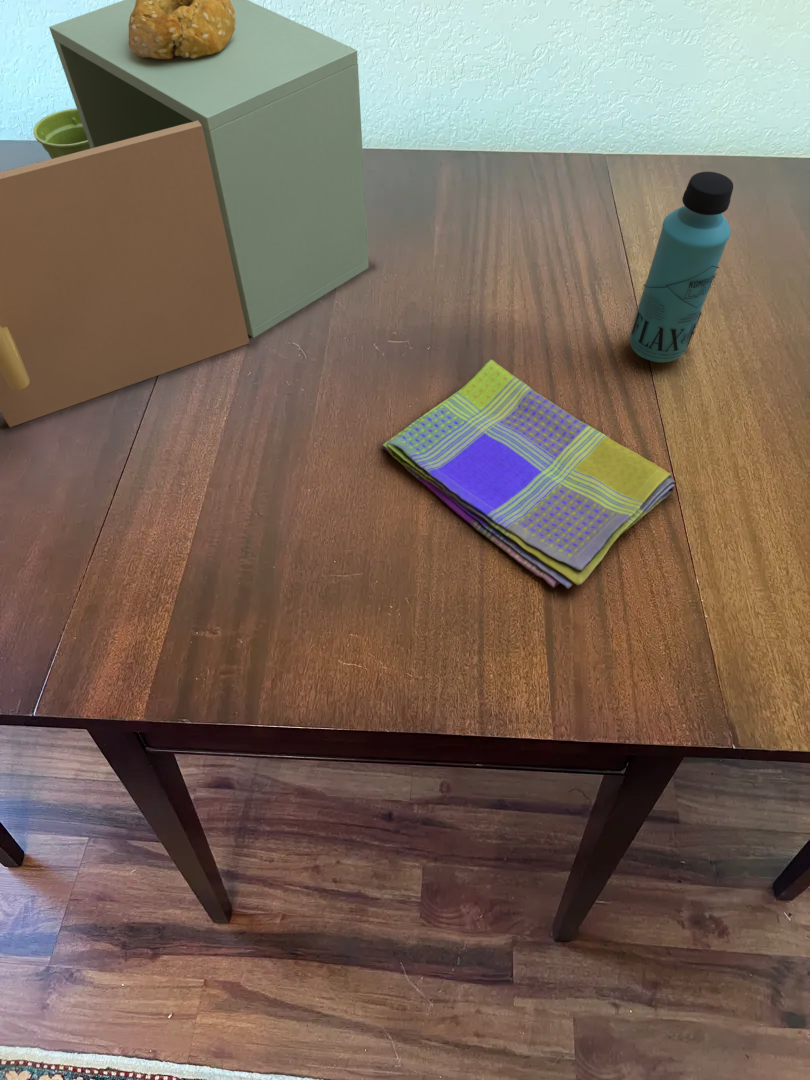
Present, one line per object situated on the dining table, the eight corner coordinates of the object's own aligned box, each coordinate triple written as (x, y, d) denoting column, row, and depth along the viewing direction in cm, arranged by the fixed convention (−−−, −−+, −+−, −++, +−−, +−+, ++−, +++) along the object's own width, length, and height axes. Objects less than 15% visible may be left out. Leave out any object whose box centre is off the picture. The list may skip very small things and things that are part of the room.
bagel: (107, 46, 76) (91, -11, 72) (197, 10, 81) (186, -45, 77) (169, 78, 72) (155, 20, 68) (260, 39, 77) (252, -17, 73)
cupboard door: (274, 381, 84) (231, 162, 64) (25, 472, 76) (-110, 258, 57) (246, 338, 88) (197, 120, 68) (7, 421, 80) (-124, 204, 61)
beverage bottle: (612, 354, 86) (659, 181, 69) (647, 326, 88) (700, 152, 72) (662, 383, 83) (723, 210, 67) (697, 353, 86) (764, 179, 69)
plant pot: (69, 171, 108) (45, 106, 101) (137, 172, 108) (117, 107, 101) (49, 209, 103) (22, 144, 96) (120, 211, 103) (98, 145, 95)
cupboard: (253, 338, 88) (206, 117, 68) (122, 241, 99) (48, 26, 79) (369, 268, 95) (357, 49, 75) (235, 184, 106) (193, -26, 86)
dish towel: (494, 368, 85) (496, 349, 82) (684, 494, 74) (692, 475, 72) (376, 454, 78) (375, 435, 75) (567, 605, 67) (572, 588, 65)
